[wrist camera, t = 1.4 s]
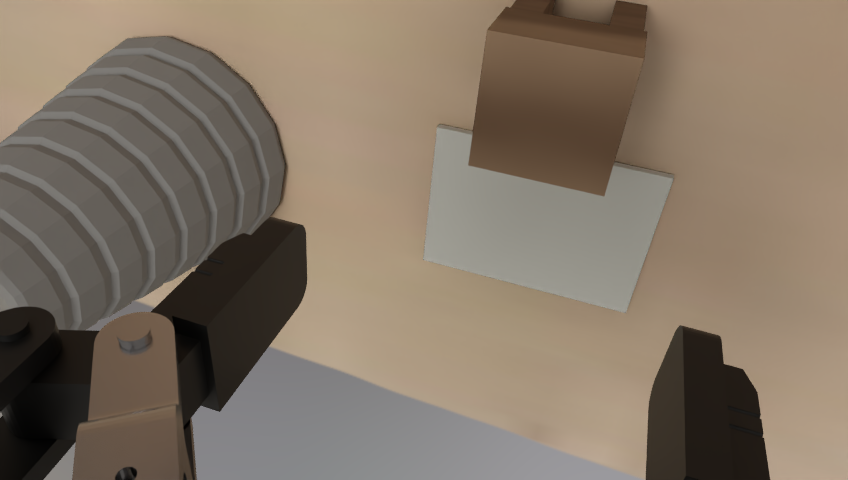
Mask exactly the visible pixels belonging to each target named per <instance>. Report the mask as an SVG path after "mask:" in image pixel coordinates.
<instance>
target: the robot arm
mask: <svg viewBox="0 0 848 480" xmlns="http://www.w3.org/2000/svg"><path fill="white" fill-rule="evenodd" d="M306 285H307V256H306V231H305V228H304V226H303V225H300V224H296V223H292V222H288V221H285V220H281V219H277V218H273V217H270V218H268V219H267V220H265V221H264V222H263V223H262V224H261V225H260V226H259V227H258V228H257V229H256V230H255V232H254V233H253V234H252V235H249V234H246V233H242V234H240V235H238V236H236V237H233V238H231V239H229V240H227V241H225V242H223V243H221V244H220V245H219V246H218V247H217V248H216V249H215V250H214V251H213V252H212V253H211V254H210V255H209V256H208V257H207V260H204V261H203V262H202V263H201V264H200V265H199V266H198V267H197V268H196V270H195V272H192V273H191V274H189V275H188V276H187V277H186V278H185V279H184V280H183V281H182V282H181V283H180V284H179V285H178V286H177V287H176V288H175V289H174V290H173V291H172V292H171V293H170V294H169V295H168V296H167V297H166V298H165V299H164V300H163V301H162V302H161V303H160V304H159V305H157V306H156V307H155V308H154V309H153V310H152V311H151V312H137V313H131V314H127V315H124V316H121V317H119V318H116V319H114V320H113V321H111V322H109V323H108V324H107V325H105V326H104V327H103V328H102V329H101V330H100V331H85V330H58V327H57V324H56V321H55V318H54V316H53V315H52V314H51V313H50V312H49V311H47V310H45V309H42V308H39V307H30V306H26V307H16V308H11V309H7V310H4V311H1V312H0V412H1V413H2V415H3V416H2V417H1V418H0V480H43V479H44V478H45V477H46V476H47V475H48V474H49V472H50V471H51V470H52V469H53V468H54V467H55V465H56V464H57V463H58V462H59V461H60V460H61V458H62V457H63V456H64V455H65V454H66V452H67V451H68V450H69V449H70V448H71V447H72V445H73V444H74V443H75V442H76V446H75V457H74V467H73V478H72V480H197V477H196V463H195V451H194V438H193V425H192V419H191V417H192V416H193V414H194V413H195V412H196V411H197V409H198V408H199V407H200V406H204V407H207V408H210V409H213V410H216V411H219V412H220V411H221V409H222V408H223V407H224V405H225V404H226V403H227V401H228V400H229V399H230V397H231V396H232V395H233V393H234V392H235V391H236V389H237V388H238V387H239V385H240V384H241V383H242V381H243V380H244V379H245V377H246V376H247V375H248V373H249V372H250V371H251V369H252V368H253V367H254V365H255V364H256V363H257V361H258V360H259V359H260V357H261V356H262V355H263V353H264V352H265V351H266V349H267V348H268V347H269V345H270V344H271V343H272V341H273V340H274V339H275V337H276V336H277V335H278V333H279V332H280V331H281V329H282V328H283V327H284V325H285V324H286V323H287V321H288V320H289V319H290V317H291V316H292V315H293V313H294V312H295V310H296V309H297V308H298V306H299V305H300V303H301V301H302V299H303V296H304V293H305V290H306ZM760 415H761V414H760V407H759V400H758V394H757V391H756V389H755V388H754V386H753V385H752V383H751V381H750V380H749V378H748V377H747V375H746V373H745V372H744V370H743V369H740V368H737V367H733V366H729V365H725V364H724V363H723V352H722V342H721V337H720V336H719V335H715V334H711V333H707V332H704V331H700V330H696V329H692V328H688V327H685V326H679V327H678V328H677V330H676V332H675V334H674V336H673V338H672V341H671V343H670V345H669V348H668V350H667V352H666V355H665V357H664V359H663V362H662V364H661V367H660V369H659V371H658V374H657V376H656V378H655V381H654V384H653V387H652V391H651V396H650V401H649V410H648V435H647V461H646V480H770V476H769V469H768V462H767V455H766V448H765V442H764V438H762V436H763V428H762V421H761V419H760Z"/></svg>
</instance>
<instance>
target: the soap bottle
mask: <svg viewBox="0 0 848 480" xmlns="http://www.w3.org/2000/svg"><path fill="white" fill-rule="evenodd" d="M284 170H285V161H284V158H283V154H282V150H281V146H280V143H279V139H278V135H277V131H276V127H275V124H274V122H273V121H272V119H271V118H270V116H269V115H268V113H267V111H266V110H265V108H264V107H263V105H262V104H261V102H260V101H259V99H258V98H257V96H256V94H255V93H254V91H253V90H252V88H251V87H250V85H249V84H248V83H247V82H246V81H244V80H243V79H242V78H241V77H240V76H239V75H237V74H236V73H235V72H234V71H233V70H231V69H230V68H229V67H228V66H227V65H226V64H224V63H223V62H222V61H221V60H220V59H218V58H217V57H216V56H215V55H214V54H213V53H210V52H208V51H205V50H203V49H200V48H198V47H195V46H193V45H190V44H188V43H185V42H183V41H180V40H177V39H175V38H172V37H146V38H127V39H126V40H125V41H123V42H122V43H120V44H119V45H118V46H116V47H115V48H113V49H112V50H110V51H109V52H108V53H106V54H105V55H103V56H102V57H101V58H99V59H98V60H97V61H96V62H94V63H93V64H92V65H91V66H89V67H88V68H87V71H85V72H84V73H82V74H81V75H80V76H78V77H77V78H76V79H75V80H73V81H72V82H71V83H69V84H68V85H67V86H66V89H64V90H63V91H61V92H60V93H59V94H57V95H56V96H55V97H54V98H52V99H51V100H50V101H49V102H47V103H46V104H45V105H44V106H43V109H41V110H40V111H38V112H37V113H35V114H34V115H33V116H32V117H30V118H29V119H28V120H27V121H25V122H24V123H23V124H21V125H20V126H19V127H18V130H17V131H16V132H14V133H13V134H11V135H10V136H8V137H7V138H6V139H5V140H3V141H2V142H1V143H0V312H1V311H4V310H7V309H11V308H16V307H26V306H30V307H39V308H42V309H45V310H47V311H49V312H50V313H51V314H52V315H53V316H54V318H55V321H56V324H57V327H58V330H86V329H88V328H89V327H91V326H92V325H94V324H96V323H97V322H98V320H101V319H104V318H107V317H110V316H111V315H113V314H115V313H116V312H118V311H119V310H121V309H123V308H124V307H126V306H127V305H129V304H131V302H132V301H134V300H137V299H139V298H142V297H144V296H146V295H147V294H149V293H151V292H152V291H154V290H155V289H157V288H159V287H160V286H162V285H163V283H166V282H168V281H171V280H174V279H175V278H177V277H178V276H180V275H182V274H183V273H185V272H186V271H188V270H190V269H191V267H194V266H196V265H199V264H201V263H202V262H203V261H204V260H207V257H208V256H209V255H210V254H211V253H212V252H213V251H214V250H215V249H216V248H217V247H218V246H219V245H220V244H221V243H223V242H225V241H227V240H229V239H231V238H233V237H236V236H238V235H240V234H242V233H246V234H249V235H251V234H253V233H254V232H255V230H256V229H257V228H258V227H259V226H260V225H261V224H262V223H263V222H264V221H265V220H267V219H268V218H269V217H270V215H271V214H272V213H273V212H274V210H275V209H276V208H277V206H278V205H279V203H280V199H281V192H282V184H283V177H284Z"/></svg>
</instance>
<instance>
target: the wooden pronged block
mask: <svg viewBox="0 0 848 480" xmlns="http://www.w3.org/2000/svg"><path fill="white" fill-rule="evenodd" d="M554 3H555V0H516V1H515V3H514V4H513V5H512V6H511V8H509V7H506V8H505V9H504V10H503V11H502V13H501V14H500V15H499V16H498V18H497V19H496V20H495V21H494V22H493V24H492V25H491V26H490V27H489V28H488V30H487V35H486V42H485V49H484V56H483V63H482V71H481V78H480V85H479V92H478V99H477V106H476V113H475V120H474V127H473V134H472V141H471V148H470V156H469V163H468V165H469V166H473V167H477V168H482V169H486V170H490V171H495V172H499V173H504V174H508V175H512V176H517V177H521V178H525V179H530V180H534V181H539V182H543V183H547V184H552V185H556V186H560V187H565V188H569V189H574V190H578V191H582V192H587V193H591V194H595V195H600V196H605V192H606V189H607V185H608V182H609V179H610V175H611V172H612V168H613V165H614V161H615V158H616V154H617V151H618V148H619V144H620V141H621V137H622V134H623V130H624V127H625V123H626V120H627V117H628V113H629V110H630V106H631V103H632V99H633V96H634V93H635V89H636V86H637V82H638V79H639V75H640V72H641V68H642V65H643V62H644V57H645V48H646V39H647V32H646V31H644V27H645V19H646V11H647V6H646V5H640V4H634V3H628V2H622V1H616V4H615V8H614V11H613V15H612V18H611V22H610V25H606V24H600V23H595V22H589V21H583V20H577V19H572V18H566V17H560V16H554V15H552V13H553V8H554Z"/></svg>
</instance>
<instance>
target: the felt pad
mask: <svg viewBox="0 0 848 480" xmlns="http://www.w3.org/2000/svg"><path fill="white" fill-rule="evenodd" d="M472 134H473V131H470V130H465V129H460V128H456V127H451V126H447V125H442V124H439V125H438V127H437V133H436V143H435V152H434V162H433V171H432V181H431V190H430V200H429V209H428V219H427V228H426V238H425V247H424V257H423V260H426V261H429V262H433V263H437V264H441V265H445V266H448V267H452V268H456V269H460V270H464V271H467V272H471V273H475V274H479V275H483V276H486V277H490V278H494V279H498V280H502V281H505V282H509V283H513V284H517V285H521V286H524V287H528V288H532V289H536V290H540V291H543V292H547V293H551V294H555V295H559V296H562V297H566V298H570V299H574V300H578V301H581V302H585V303H589V304H593V305H597V306H600V307H604V308H608V309H612V310H616V311H619V312H623V313H626V311H627V308H628V305H629V302H630V300H631V297H632V294H633V291H634V288H635V286H636V283H637V280H638V277H639V274H640V272H641V269H642V266H643V263H644V260H645V258H646V255H647V252H648V249H649V246H650V244H651V241H652V238H653V235H654V232H655V230H656V227H657V224H658V221H659V218H660V216H661V213H662V210H663V207H664V205H665V202H666V199H667V196H668V193H669V191H670V188H671V185H672V182H673V179H674V175H673V174H668V173H663V172H659V171H654V170H650V169H645V168H640V167H636V166H631V165H626V164H622V163H617V162H614V165H613V168H612V172H611V175H610V179H609V182H608V185H607V189H606V192H605V196H600V195H595V194H591V193H587V192H582V191H578V190H574V189H569V188H565V187H560V186H556V185H552V184H547V183H543V182H539V181H534V180H530V179H525V178H521V177H517V176H512V175H508V174H504V173H499V172H495V171H490V170H486V169H482V168H477V167H473V166H469V165H468V163H469V156H470V148H471V141H472Z"/></svg>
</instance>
